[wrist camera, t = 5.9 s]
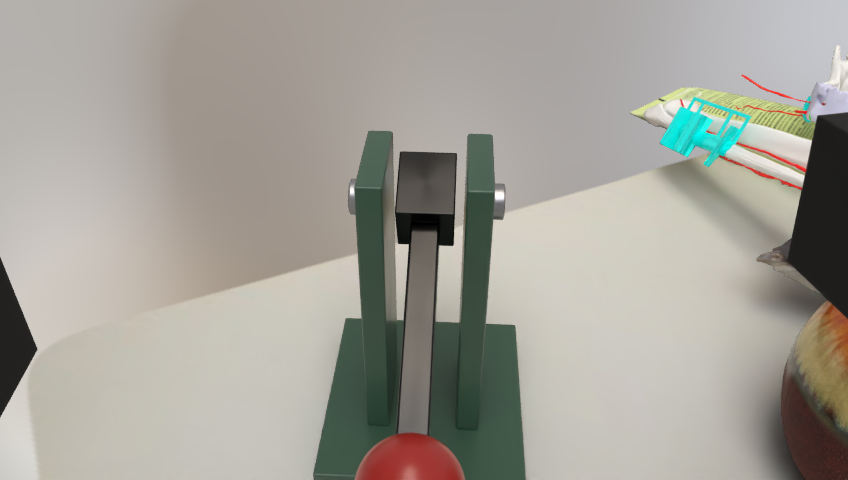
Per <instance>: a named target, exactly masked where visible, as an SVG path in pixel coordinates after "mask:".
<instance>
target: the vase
mask: <svg viewBox="0 0 848 480" xmlns="http://www.w3.org/2000/svg"><path fill="white" fill-rule="evenodd" d="M781 415H782V423H783V430H784V435H785V438H786V442H787V445H788V448H789V450H790V453H791V456H792V458H793V460H794V462H795V464H796V466H797V467H798V469H799V471H800V473H801V475H802V476H803V477H804V479H805V480H848V319H847V318H846V317H845V316H844V315H843V314H842V313H841V312H840V311H839V310H838V309H837V308H836V307H835V306H834V305H832V304H831V303H830V302H829V301H828V300H827V301H825V302H824V303H823V304H822V305H821V306H820V307H819V308H818V309H817V310H816V311H815V312H814V313H813V315H812V316H811V317H810V318H809V320H808V321H807V322H806V324H805V325H804V326H803V328H802V329H801V331H800V332H799V334H798V336H797V338H796V339H795V342H794V344H793V347H792V349H791V352H790V354H789V357H788V359H787V363H786V366H785V370H784V375H783V383H782V393H781Z"/></svg>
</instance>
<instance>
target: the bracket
mask: <svg viewBox="0 0 848 480" xmlns="http://www.w3.org/2000/svg"><path fill="white" fill-rule="evenodd" d="M393 174H394V171H393V133H392V132H390V131H368V134H367V138H366V142H365V147H364V150H363V154H362V158H361V162H360V166H359V171H358V175H357V179H351V181H350V185H349V193H348V204H349V205H348V206H349V212H350V214H354V215H356V227H357V246H358V264H359V281H360V299H361V316H362V319H354V318H346V320H345V325H344V330H343V334H342V339H341V344H340V349H339V354H338V358H337V363H336V368H335V373H334V377H333V382H332V387H331V392H330V397H329V401H328V406H327V411H326V416H325V420H324V425H323V430H322V435H321V440H320V444H319V449H318V454H317V459H316V464H315V468H314V473H313V476H314V480H355V476H356V472H357V470H358V468H359V465H360V463H361V462H362V460H363V458H364V457H365V455H366V454H367V453H368V452H369V451H370V450H371V449H372V448H373V447H374V446H375V445H376V444H377V443H379V442H380V441H382V440H383V439H385V438H387V437H390V436H392V435H396V423H397V409H398V395H399V381H400V366H401V352H402V338H403V324H404V321H403V320H397V315H396V267H395V223H394V221H395V219H394V175H393ZM504 212H505V185H504V184H495V178H494V156H493V137H492V135H489V134H469V135H468V138H467V161H466V183H465V205H464V227H463V250H462V272H461V295H460V317H459V323H452V322H436V323H435V344H434V366H433V387H432V408H431V429H430V436H431V437H433V438H435V439H437V440H439V441H440V442H441V443H443V444H444V445H445V446H447V447H448V448H449V449H450V450H451V451H452V453H453V454H454V455H455V456H456V458H457V460H458V461H459V463H460V465H461V467H462V470H463V473H464V476H465V480H526V477H525V462H524V447H523V432H522V417H521V403H520V388H519V373H518V358H517V344H516V329H515V325H502V324H486V313H487V299H488V285H489V271H490V257H491V243H492V230H493V219H496V220H503V218H504Z"/></svg>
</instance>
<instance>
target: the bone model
mask: <svg viewBox="0 0 848 480" xmlns="http://www.w3.org/2000/svg"><path fill="white" fill-rule="evenodd" d="M846 58H847V61H842V59H841V54H840V45H837V46H836V48H835V51H834V55H833V59H832V69H831V77H830V79H829V81H828V82H824V83H820V82H817V83H816V85H815V87H814V89H813V92H812V95H811V96H810V97H808V99H807V101H805V105H804V108H803V111H799V110H795V111H794V112H796V113H800V114H801V113H803V115H799V114H792V113H787V112H783V111H767V112H781V113H785V114H789V115H794V116H802V117H803V119H804V120H805V121H806V122H808V123H810V122H811V121H813V122H816V119H817V115H826V114H835V113H845V112H848V54H847V56H846ZM742 76H743V77H744V78H746V79H747V80H749V81H750V82H752V83H753V84H755V85H757V86H758V87H759V88H761V89H763V90H766V91H769V92H772V93H775V94H778V95H780V96H783V97H786V98H791V99H794V98H792V97H789V96H786V95H784V94H781V93H778V92H774V91H771V90H768V89H765V88H763V87H761V86H760V85H758V84H757V83H755V82H754V81H752V80H751V79H749V78H748V77H746V76H744V75H742ZM796 100H797V99H796ZM695 101H697V102H700V103H701V105H700V106H699V105H698V104H696V103H695ZM798 101H801V100H798ZM803 102H804V101H803ZM705 104H706V105H709V106H712V107H715V108H717V109H720V110H723V111H726V112H729V115H728V117H727V118H726V119H724V118H720V117H716V116H713V115H710V114H708V113H706V112H704V111H702V108H703V107H704V105H705ZM746 106H748V107H751V108H753V109H760V110H763V109H761V108H757V107H752V106H750V105H746ZM746 106H744V107H746ZM744 107H743V108H744ZM736 108H737V109H740V108H738V107H737V106H736ZM741 109H742V108H741ZM763 111H766V110H763ZM733 114H735V115H738V116H740V117H743V118H746V119H745V121H744V122H742V121H736V120H730V119H731V117H732V115H733ZM643 118H644V119H645V120H647V121H648V123H650V124H653V125H654V126H657V127H659V126H662V127H664V128H666V129H667V131H666V132H665V134H664V136H663V138H662V139H661V141H660V144H662V145H664V146H666V147H668V148H670V149H672V150H674V151H676V152H678V153H680V154H682V155H684V156H687V157H688V156H689V154H690V153H691V151H692V150H693V149H694V147H695V146H698V147H700V148H702V149H705V150H707V151H710V152H711V154H710V155H709V157H708V158H707V159H706V161H705V162H704V165H705V166H707V167H709V166H710V165H711V164H712V163H713V162H714V161H715V160H716V159H717V158H718V156H720V157H721V158H724V159H725V160H727V161H729V162H732V163H734V164H737V165H741V166H744V167H746V168H748V169H750V170H751V171H753V172H754V173H756V174H758V175H760V176H762V177H766V178H770V179H778V180H780V181H781V183H782V185H783V184H785V185H788V186H792V187H794V188H797V189H800V190H802V186H803V182H804V177H805V175H803V174H800V173H798V172H796V171H794V170H792V169H790V168H788V167H785V166H782V165H780V164H778V163H775V162H773V161H771V160H768V159H766V158H764V157H762V156H759V155H757V154H755V153H752V152H750V151H747V150H745V149H743V148H741V147H739V146H736V144H737V145H740V146H743V147H745V148H748V149H750V150H753V151H755V152H758V153H760V154H763V155H766V156H768V157H770V158H773V159H775V160H777V161H779V162H782V163H784V164H786V165H789V166H791V167H793V168H795V169H797V170H799V171H801V172H803V173H804V174H805V172H806V167H807V163H808V158H809V153H810V148H811V143H812V140H808V139H805V138H801V137H798V136H795V135H792V134H789V133H786V132H783V131H780V130H776V129H773V128H769V127H766V126H762V125H758V124H752V123H748V122H749V120H750V119H751V116H750V115H747V114H744V113H741V112H738V111H735V110H732V109H729V108H726V107H724V106H721V105H718V104H715V103H712V102H709V101H706V100H703V99H700V98H697V97H693V99H692V101H688V100H681V99H675V100H671V101H668V102H667V103H665V105H664V106H663V104H662V103H659V104H657V105H656V106H654V107H650V108H648V109H647V110H646V111H645V112H644V115H643ZM726 157H727V158H729V159H727V158H726ZM730 159H731V160H730ZM733 160H734V161H733ZM738 162H739V163H738ZM754 169H755V170H754ZM756 170H758V171H756ZM761 172H762V173H761Z"/></svg>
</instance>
